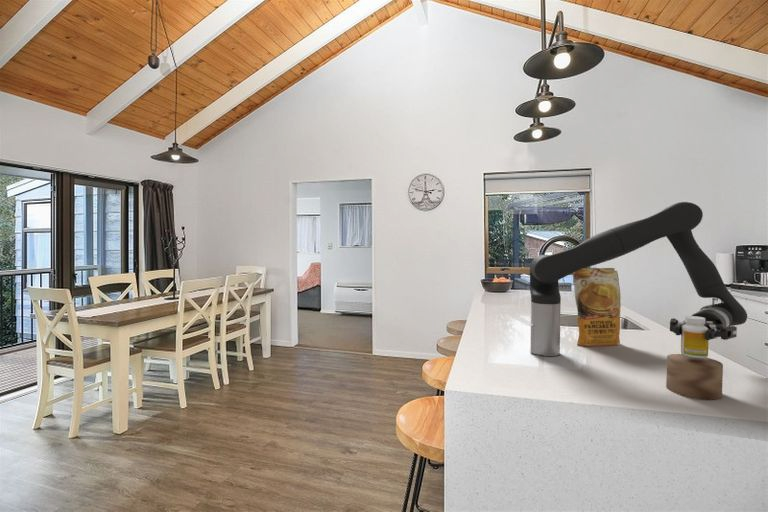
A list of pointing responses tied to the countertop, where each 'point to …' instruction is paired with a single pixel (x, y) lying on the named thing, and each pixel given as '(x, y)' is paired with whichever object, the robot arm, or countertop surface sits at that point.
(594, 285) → the pancake mix bag
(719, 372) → the walnut block
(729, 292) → the robot arm
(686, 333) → the supplement bottle
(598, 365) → the countertop surface
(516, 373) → the countertop surface
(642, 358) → the countertop surface
